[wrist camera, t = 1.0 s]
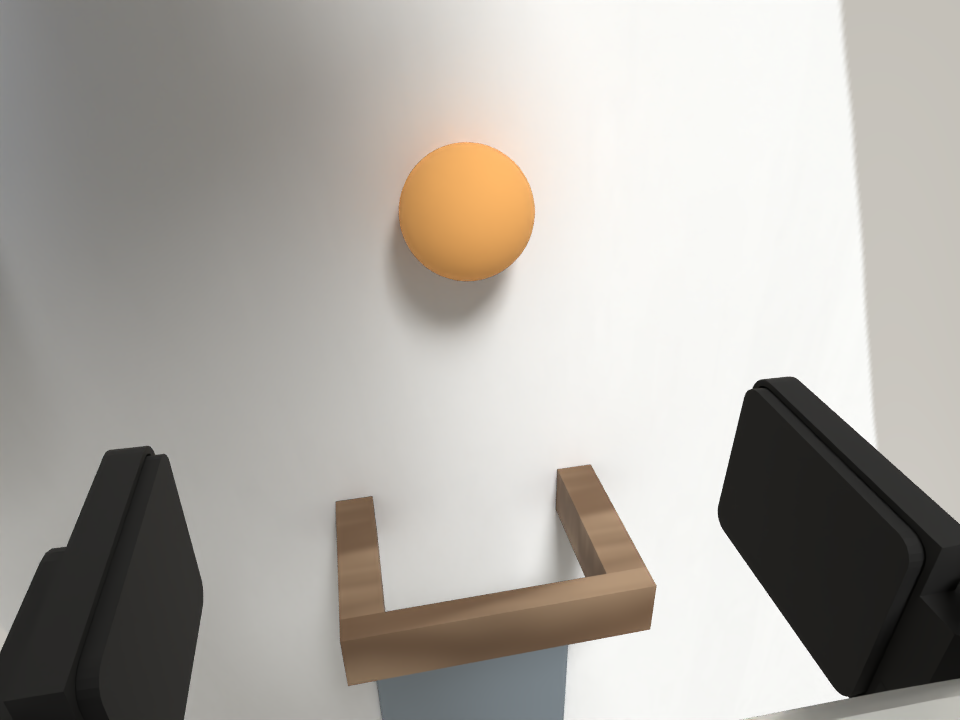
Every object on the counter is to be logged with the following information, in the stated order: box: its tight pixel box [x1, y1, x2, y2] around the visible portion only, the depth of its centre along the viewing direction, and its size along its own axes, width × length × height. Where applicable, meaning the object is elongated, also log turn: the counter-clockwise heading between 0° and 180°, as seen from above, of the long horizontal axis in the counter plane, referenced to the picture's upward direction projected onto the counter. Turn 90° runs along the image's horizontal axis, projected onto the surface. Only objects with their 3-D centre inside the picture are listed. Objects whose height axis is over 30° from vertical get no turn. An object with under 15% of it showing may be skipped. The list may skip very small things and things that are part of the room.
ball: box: [399, 142, 535, 281], centre depth 29 cm, size 6×6×6 cm
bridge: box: [336, 465, 656, 686], centre depth 36 cm, size 3×15×9 cm, turn 92°
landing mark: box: [377, 645, 568, 720], centre depth 48 cm, size 13×13×1 cm
